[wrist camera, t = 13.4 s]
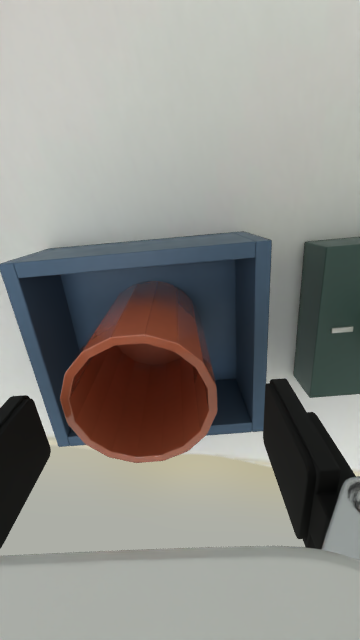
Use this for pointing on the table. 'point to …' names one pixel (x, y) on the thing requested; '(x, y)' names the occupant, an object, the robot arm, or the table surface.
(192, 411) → the cup
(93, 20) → the table surface
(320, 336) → the green dial base
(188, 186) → the table surface
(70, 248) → the basin
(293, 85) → the table surface
